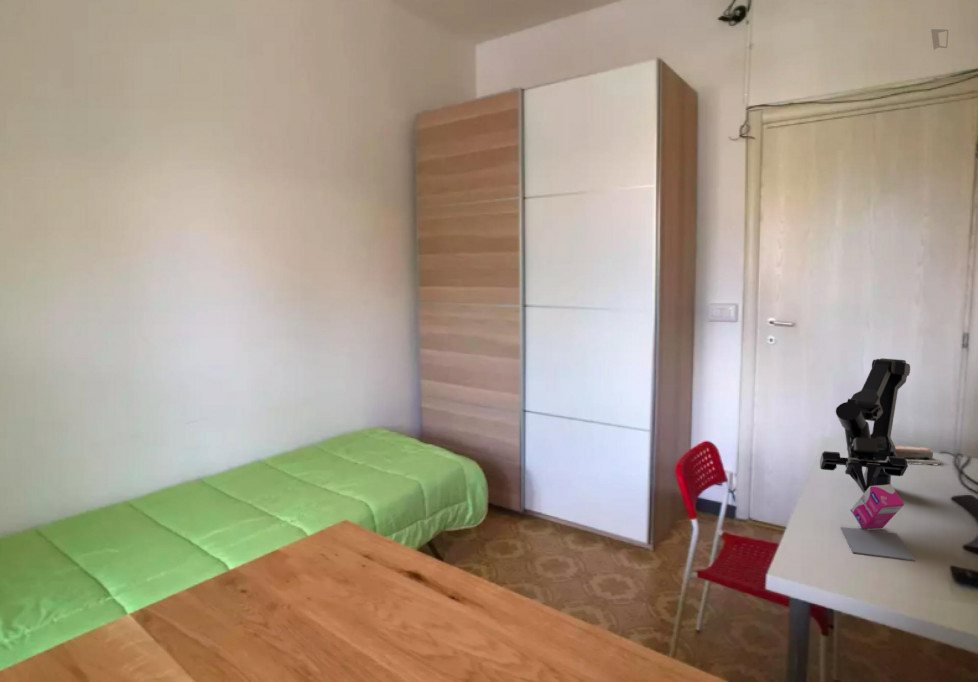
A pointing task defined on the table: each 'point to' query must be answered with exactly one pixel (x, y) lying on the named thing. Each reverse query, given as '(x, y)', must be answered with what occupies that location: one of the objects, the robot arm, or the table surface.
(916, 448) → the packaged product
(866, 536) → the mat
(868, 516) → the supplement box
